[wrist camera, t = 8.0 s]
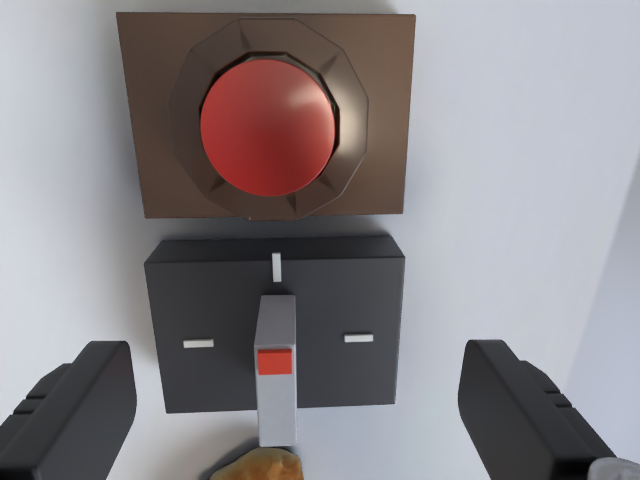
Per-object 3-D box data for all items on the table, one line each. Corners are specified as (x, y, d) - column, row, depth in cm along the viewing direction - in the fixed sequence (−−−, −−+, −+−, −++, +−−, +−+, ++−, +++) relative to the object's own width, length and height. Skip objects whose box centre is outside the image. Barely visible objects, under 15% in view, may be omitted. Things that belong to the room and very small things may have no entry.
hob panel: (180, 382, 26) (165, 422, 23) (160, 233, 22) (140, 256, 19) (383, 374, 26) (395, 412, 23) (392, 229, 23) (407, 250, 20)
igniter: (157, 207, 22) (129, 233, 18) (132, 18, 19) (93, 3, 15) (394, 203, 23) (414, 227, 19) (404, 20, 20) (431, 6, 16)
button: (215, 185, 18) (206, 197, 16) (204, 60, 17) (193, 58, 15) (330, 184, 18) (334, 195, 17) (331, 61, 17) (336, 58, 15)
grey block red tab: (296, 382, 22) (297, 450, 18) (265, 382, 22) (258, 452, 18) (295, 294, 21) (296, 347, 17) (260, 294, 21) (253, 348, 16)
